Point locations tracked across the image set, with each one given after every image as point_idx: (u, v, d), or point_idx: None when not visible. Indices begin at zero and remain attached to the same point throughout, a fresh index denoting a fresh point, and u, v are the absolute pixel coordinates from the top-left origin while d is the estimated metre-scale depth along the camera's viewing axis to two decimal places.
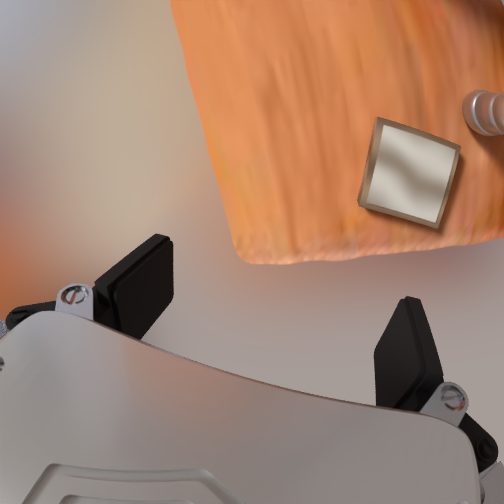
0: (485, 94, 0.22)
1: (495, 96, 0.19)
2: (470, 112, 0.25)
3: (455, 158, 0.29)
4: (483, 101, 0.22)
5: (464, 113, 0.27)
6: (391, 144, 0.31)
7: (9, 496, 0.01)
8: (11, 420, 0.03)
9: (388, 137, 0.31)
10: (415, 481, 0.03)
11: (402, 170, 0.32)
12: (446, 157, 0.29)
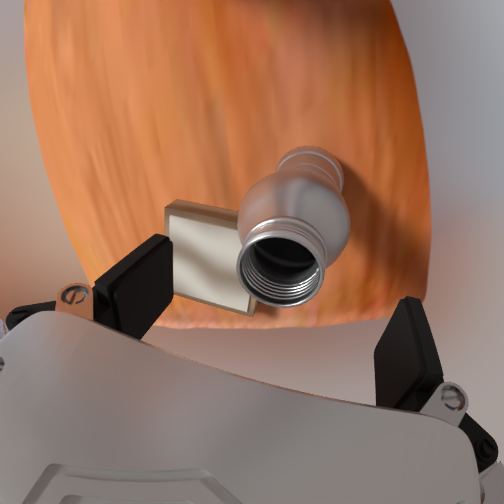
0: (285, 163, 0.23)
1: None
2: None
3: None
4: None
5: None
6: (180, 235, 0.33)
7: (9, 496, 0.01)
8: (11, 420, 0.03)
9: (175, 228, 0.32)
10: (415, 481, 0.03)
11: (196, 261, 0.34)
12: None
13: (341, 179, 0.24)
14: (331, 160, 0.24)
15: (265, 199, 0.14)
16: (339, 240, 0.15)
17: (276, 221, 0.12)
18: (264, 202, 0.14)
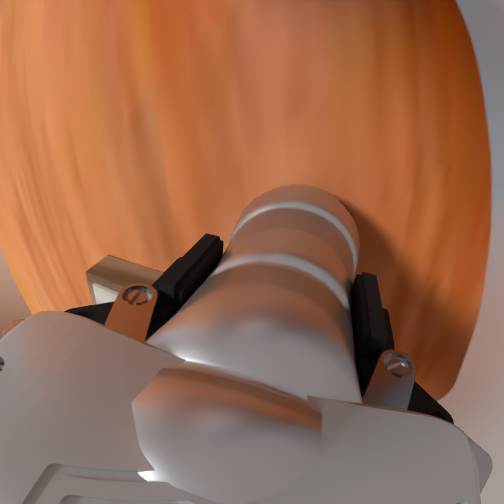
0: (241, 232, 0.12)
1: (208, 279, 0.09)
2: None
3: None
4: None
5: None
6: None
7: (9, 496, 0.01)
8: (11, 420, 0.03)
9: (103, 302, 0.21)
10: (415, 481, 0.03)
11: None
12: None
13: (356, 257, 0.13)
14: (339, 221, 0.12)
15: None
16: None
17: None
18: None
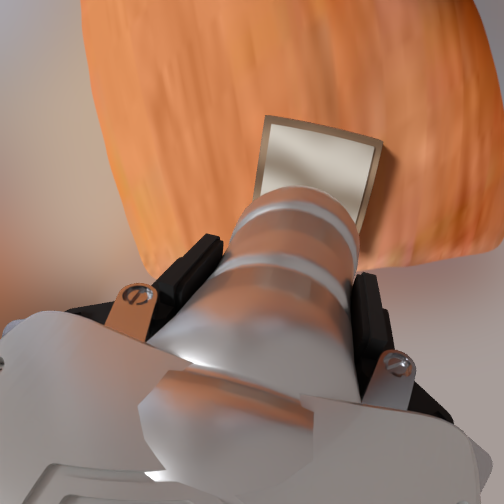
0: (241, 233, 0.12)
1: (208, 280, 0.09)
2: None
3: (375, 157, 0.26)
4: None
5: None
6: (281, 147, 0.28)
7: (9, 496, 0.01)
8: (11, 420, 0.03)
9: (277, 138, 0.27)
10: (415, 481, 0.03)
11: (298, 178, 0.29)
12: (360, 157, 0.26)
13: (356, 258, 0.13)
14: (338, 222, 0.12)
15: None
16: None
17: None
18: None
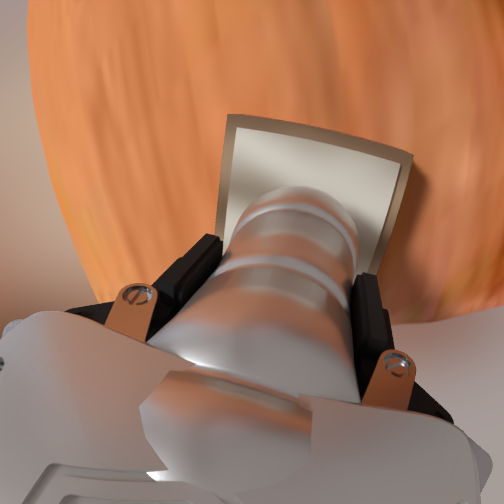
0: (241, 233, 0.12)
1: (208, 280, 0.09)
2: None
3: (401, 180, 0.16)
4: None
5: None
6: (253, 163, 0.18)
7: (9, 496, 0.01)
8: (11, 420, 0.03)
9: (246, 150, 0.18)
10: (415, 481, 0.03)
11: None
12: (378, 180, 0.16)
13: (356, 258, 0.13)
14: (338, 222, 0.12)
15: None
16: None
17: None
18: None
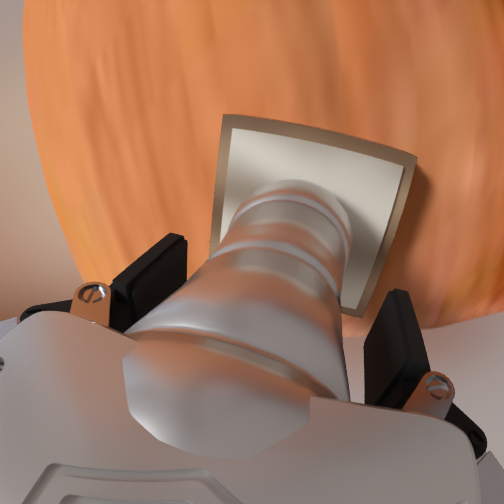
0: (236, 223, 0.12)
1: None
2: None
3: (404, 183, 0.15)
4: None
5: None
6: (250, 166, 0.17)
7: (9, 496, 0.01)
8: (11, 420, 0.03)
9: (243, 152, 0.17)
10: (415, 481, 0.03)
11: None
12: (380, 184, 0.16)
13: (348, 247, 0.13)
14: (330, 212, 0.13)
15: None
16: None
17: None
18: None
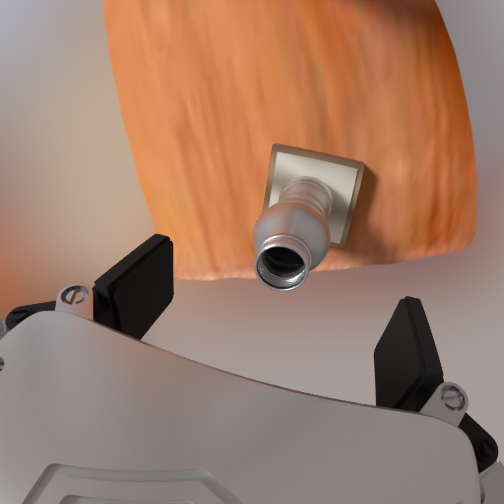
0: (286, 191, 0.31)
1: None
2: None
3: (358, 177, 0.34)
4: None
5: None
6: (285, 170, 0.36)
7: (9, 496, 0.01)
8: (11, 420, 0.03)
9: (282, 163, 0.36)
10: (415, 481, 0.03)
11: None
12: (347, 178, 0.34)
13: (330, 202, 0.32)
14: (322, 188, 0.32)
15: (272, 222, 0.22)
16: (321, 248, 0.22)
17: (279, 237, 0.20)
18: (271, 224, 0.22)
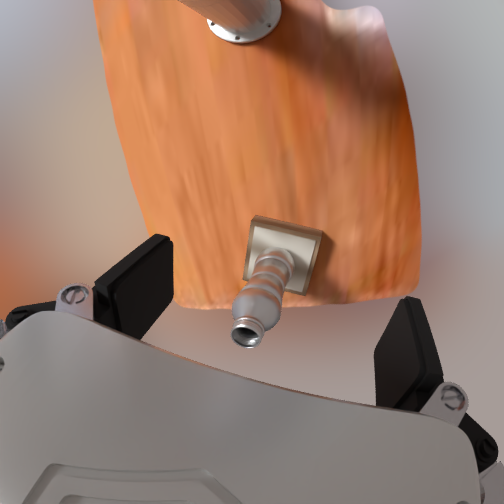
0: (258, 264, 0.45)
1: (251, 276, 0.42)
2: None
3: (316, 246, 0.48)
4: (253, 272, 0.45)
5: None
6: (260, 240, 0.50)
7: (9, 496, 0.01)
8: (11, 420, 0.03)
9: (258, 235, 0.49)
10: (415, 481, 0.03)
11: None
12: (307, 247, 0.48)
13: (291, 270, 0.46)
14: (285, 260, 0.45)
15: (242, 305, 0.36)
16: (273, 320, 0.36)
17: (244, 319, 0.34)
18: (242, 306, 0.35)
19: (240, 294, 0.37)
